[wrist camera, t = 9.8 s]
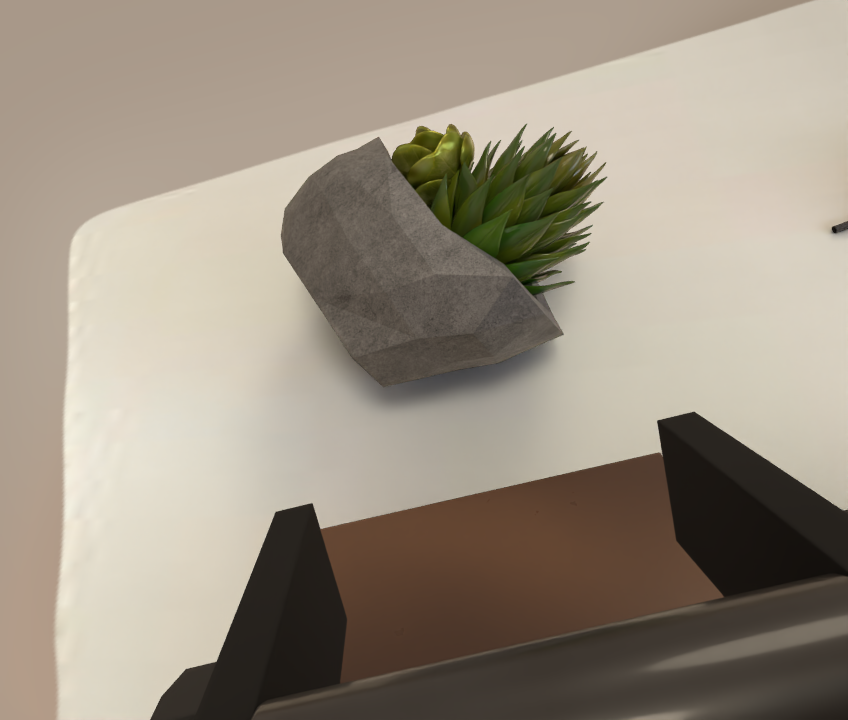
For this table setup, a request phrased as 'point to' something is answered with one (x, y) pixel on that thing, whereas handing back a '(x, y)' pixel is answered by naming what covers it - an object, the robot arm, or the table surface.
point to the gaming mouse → (840, 227)
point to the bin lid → (567, 615)
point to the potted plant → (438, 248)
